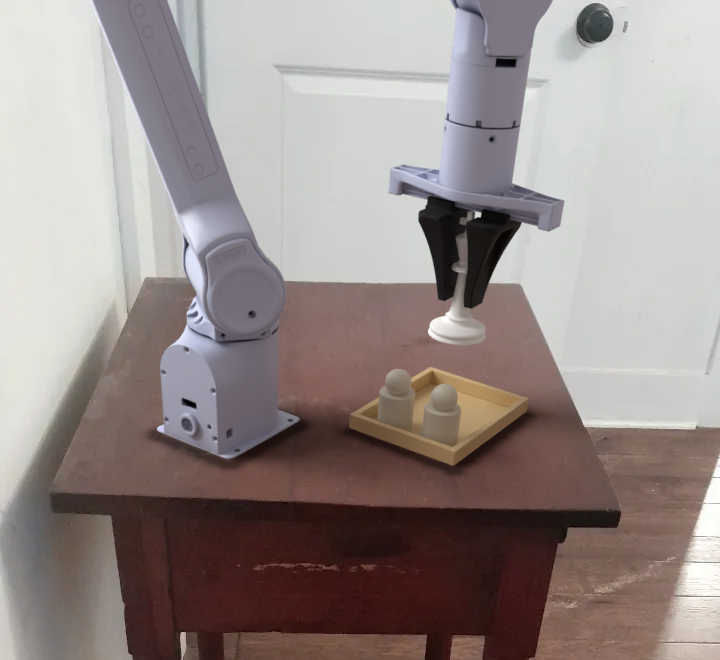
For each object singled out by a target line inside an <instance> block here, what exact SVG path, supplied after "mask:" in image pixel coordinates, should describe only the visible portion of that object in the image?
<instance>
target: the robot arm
mask: <svg viewBox="0 0 720 660" xmlns="http://www.w3.org/2000/svg"><path fill="white" fill-rule="evenodd" d="M89 1H90V4H91V6H92V9H93V11H94V14H95V16H96V19H97V22H98V24H99V27H100V29H101V31H102V35H103V36H104V39H105V41H106V44H107V46H108V50H109V52H110V54H111V56H112V59H113V61H114V64H115V67H116V69H117V72H118V74H119V76H120V79H121V81H122V84H123V86H124V89H125V92H126V94H127V96H128V98H129V101H130V104H131V106H132V109H133V111H134V114H135V116H136V119H137V122H138V124H139V126H140V128H141V131H142V133H143V137H144V138H145V141H146V143H147V146H148V148H149V151H150V153H151V156H152V159H153V160H154V164H155V166H156V168H157V171H158V173H159V176H160V179H161V181H162V183H163V186H164V188H165V191H166V193H167V196H168V198H169V201H170V203H171V206H172V210H173V214H174V218H175V221H176V223H177V225H178V227H179V231H180V234H181V237H182V253H181V265H182V269H183V272H184V276H185V277H186V279H187V281H188V282H189V284H190V285H191V286H192V287H193V289H194V291H195V293H196V295H195V296H194V297H193V298H192V302H191V303H190V306H189V309H188V310H187V311H186V325H185V328H184V330H183V332H182V334H181V336H179V338H178V339H177V340H176V341H174V342H173V343H172V344H171V345H169V346H168V347H167V348H166V349H165V350H164V352H163V354H162V356H161V359H160V365H159V374H160V390H161V402H162V405H161V406H162V416H163V417H162V419H163V424H161V425H159V426H158V427H156V431H157V432H158V433H160V434H163V435H164V436H165V435H166V436H167V437H170V438H173V439H175V440H178V441H180V442H182V443H185V444H187V445H190V446H193V447H195V448H198V449H200V450H202V451H205V452H207V453H210V454H212V455H214V456H217V457H220V458H222V459H224V460H233V459H235V458H237V457H239V456H240V455H242V454H244V453H246V452H248V451H249V450H251V449H253V448H255V447H256V446H258V445H260V444H262V443H264V442H266V441H267V440H269V439H271V438H273V437H274V436H276V435H277V434H279V433H282V432H283V431H285V430H286V429H288V428H290V427H291V426H295V424H297V423H299V422H300V421H301V419H300V417H298V416H297V415H293V414H292V413H289V412H285V411H283V410H281V409H279V394H280V393H279V388H280V386H279V385H280V381H279V380H280V379H279V377H280V375H279V374H280V318H281V316H282V314H283V312H284V308H285V306H286V301H287V287H286V282H285V279H284V276H283V274H282V273H281V271H280V269H279V268H278V266H277V265H276V264H275V263H274V262H273V261H272V260H271V259H270V258H269V257H268V256H267V255H266V254H265V253H264V250H263V249H262V248H261V247H260V246H259V243H258V241H257V239H256V236H255V232H254V231H253V227H252V226H251V223H250V222H249V219H248V217H247V215H246V212H245V210H244V209H243V206H242V204H241V201H240V200H239V197H238V195H237V192H236V190H235V187H234V185H233V181H232V179H231V176H230V173H229V170H228V167H227V165H226V162H225V159H224V156H223V154H222V150H221V148H220V144H219V142H218V139H217V136H216V134H215V131H214V128H213V125H212V122H211V119H210V117H209V113H208V111H207V108H206V105H205V102H204V100H203V97H202V94H201V91H200V88H199V86H198V83H197V80H196V77H195V74H194V71H193V69H192V66H191V63H190V61H189V57H188V55H187V52H186V48H185V46H184V43H183V41H182V38H181V35H180V33H179V30H178V29H179V28H178V27H177V23H176V21H175V18H174V15H173V12H172V9H171V7H170V4H169V1H168V0H89ZM553 1H554V0H449V2H450V4H451V5H452V7H453V8H454V9H455V18H454V19H455V21H454V30H453V37H452V38H453V39H452V46H451V52H450V53H451V54H450V63H449V64H450V65H449V74H448V85H447V92H446V93H447V94H446V103H445V114H444V121H443V132H442V140H441V141H442V142H441V149H440V150H441V151H440V161H439V169H438V168H437V169H436V168H428V167H422V166H421V167H420V166H414V165H409V164H403V163H402V164H399V165H396V166H393V167H390V168H389V177H388V178H389V179H388V194H390V195H394V196H402V195H405V196H410V197H414V198H417V199H423V200H426V204H425V206H424V208H423V209H420V210H419V211H418V213H417V214H418V216H417V220H418V224H419V225H420V228H421V230H422V232H423V235H424V237H425V240H426V242H427V246H428V249H429V253H430V255H431V261H432V265H433V270H434V276H435V283H436V284H435V285H436V292H437V300H439V301H442V302H446V301H447V300H450V299H453V296H454V291H455V287H456V282H457V277H458V272H456V271H454V270H453V269H452V266H453V264H454V263H455V262H458V261H459V260H460V259H459V255H458V248H457V244H456V236H457V235H458V234H460V233H464V232H465V231H466V233H467V246H468V267H467V276H466V283H465V290H464V307H466V308H469V310H472V309H474V308H475V307H477V306H479V305H481V304H483V301H484V298H485V296H486V292H487V290H488V287H489V284H490V282H491V279H492V277H493V274H494V272H495V270H496V267H497V265H498V263H499V261H500V259H501V258H502V256H503V254H504V252H505V251H506V249H507V248H508V246H509V244H510V242H511V241H512V240H513V238H514V236H515V235H516V234H517V233H518V231H519V230H520V228H521V227H522V223H524V224H527V225H531V226H535V227H537V229H538V230H540V231H544V232H548V233H549V232H551V231H554V230H556V229H558V228H560V227H561V223H562V218H563V212H564V206H565V200H564V199H560V198H557V197H552V196H549V195H546V194H543V193H541V192H538V191H535V190H532V189H529V188H527V187H523V186H521V185H519V184H515V183H513V179H514V173H515V166H516V165H515V164H516V158H517V153H518V152H517V151H518V146H519V145H518V144H519V137H520V131H521V125H522V123H521V122H522V118H523V117H522V116H523V112H524V111H523V109H524V104H525V97H526V90H527V83H528V76H529V71H530V70H529V69H530V63H531V56H532V48H533V46H534V45H533V44H534V38H535V32H536V28H537V26H538V25H539V23H540V21H541V19H542V18H543V17H544V16H545V15H546V14H547V11H548V10H549V9H550V8H551V5H552V3H553ZM468 211H475V213H480V216H478V217H475V219H472V220H470V221H468V222H466V225H462V224H460V218H462V217H465V218H467V215H468Z"/></svg>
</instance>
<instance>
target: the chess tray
mask: <svg viewBox="0 0 720 660" xmlns="http://www.w3.org/2000/svg"><path fill="white" fill-rule="evenodd" d="M411 381H412V384H411V389H413V390H414V391H415V403H414V413H413V423H412V429H411V431H410V432H408V431H406V430H403V429H400V428H397V427H394V426H392V425H389V424H386V423H383V422H380V421H377V416H378V403H379V396H378V397H377V398H375V399H374V400H372V401H370V402H368V403H366V404H365V405H363V406H362V407H360V408H358V409H357V410H355V411H353V412H351V413H350V414H349V423H348V424H349V429H351V430H354V431H357V432H360V433H362V434H365V435H367V436H370V437H373V438H375V439H378V440H382V441H384V442H387V443H390V444H392V445H395V446H398V447H401V448H403V449H405V450H409V451H411V452H415V453H417V454H420V455H422V456H425V457H427V458H431V459H433V460H436V461H439V462H441V463H444V464H447V465H450V466H455V465H457V464H458V463H459V462H460V461H462V460H463V459H465V458H466V457H467V456H469V455H470V454H471V453H472V452H474V451H475V450H476V449H478V448H479V447H481V446H482V445H483V444H485V443H486V442H487V441H489V440H490V439H492V438H493V437H494V436H495V435H497V434H498V433H499V432H501V431H502V430H503V429H505V428H507V427H508V426H509V425H510V424H512V423H513V422H514V421H516V420H517V419H518V418H520V417H521V416H523V415H524V414H525V413H527V410H528V406H529V400H530V398H529V397H526V396H523V395H519V394H517V393H513V392H511V391H507V390H504V389H502V388H498V387H494V386H491V385H489V384H485V383H482V382H480V381H477V380H473V379H470V378H467V377H464V376H461V375H459V374H458V375H457V374H454V373H451V372H448V371H445V370H442V369H439V368H436V367H433V366H429V367H427V368H426V369H424V370H423V371H421V372H419V373H417V374H416V375H414V376H412V377H411ZM440 384H449V385H451V386H452V387H454V388H455V390H456V392H457V394H458V401H457V404H458V405H459V406H460V407H461V416H460V424H459V431H458V439H457V444H456V445H455V446H454V447H450V446H448V445H445V444H442V443H439V442H436V441H434V440H431V439H428V438H425V437H422V436H421V435H422V425H423V416H424V407H425V404H426V403H427V402H429V401H431V393H432V391H433V389H434V388H435V387H436V386H438V385H440Z"/></svg>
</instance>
